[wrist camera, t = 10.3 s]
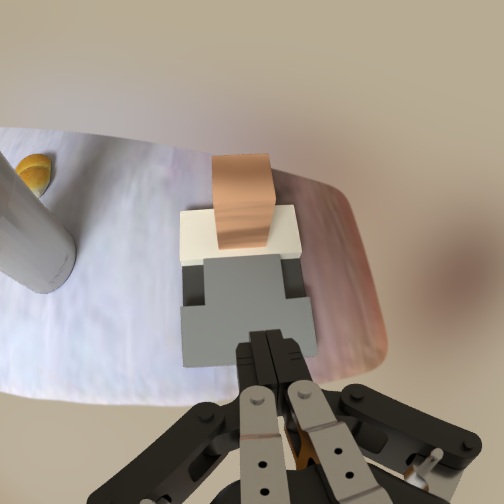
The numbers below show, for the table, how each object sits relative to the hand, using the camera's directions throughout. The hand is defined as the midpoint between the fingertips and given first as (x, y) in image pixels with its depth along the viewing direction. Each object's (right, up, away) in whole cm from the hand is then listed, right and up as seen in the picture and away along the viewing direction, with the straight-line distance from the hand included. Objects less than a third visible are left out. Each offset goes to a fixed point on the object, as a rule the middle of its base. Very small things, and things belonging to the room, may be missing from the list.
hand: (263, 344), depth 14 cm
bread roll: (-35, +15, +23) cm, 45 cm away
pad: (-2, +6, +20) cm, 21 cm away
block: (-2, +7, +19) cm, 20 cm away
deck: (-1, -2, +17) cm, 17 cm away
